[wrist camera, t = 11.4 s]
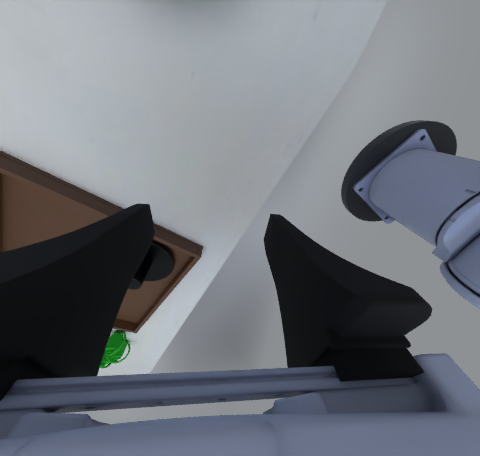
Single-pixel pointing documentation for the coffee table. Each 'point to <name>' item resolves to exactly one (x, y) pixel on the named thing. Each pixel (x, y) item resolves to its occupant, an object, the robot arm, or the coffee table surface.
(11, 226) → the tray
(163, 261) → the lid
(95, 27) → the coffee table surface
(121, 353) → the chandelier
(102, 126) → the coffee table surface
